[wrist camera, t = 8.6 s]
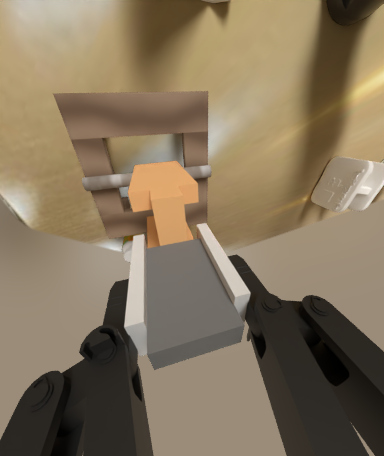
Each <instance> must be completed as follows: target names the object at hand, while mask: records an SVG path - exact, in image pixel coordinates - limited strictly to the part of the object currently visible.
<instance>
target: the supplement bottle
mask: <svg viewBox="0 0 384 456" xmlns="http://www.w3.org/2000/svg"><path fill="white" fill-rule="evenodd" d="M142 234H143V233H141V234H135V235H129V236H124V241H123V246H122V252H123V254H124V259H125V260H126V261H127V262H129V263H131V255H132V245H133V236H137V235H142Z"/></svg>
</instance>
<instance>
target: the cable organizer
mask: <svg viewBox="0 0 384 456" xmlns="http://www.w3.org/2000/svg"><path fill="white" fill-rule="evenodd" d="M383 185H384V163H378V162H371V161H367V160H361V159H354V158H347V157H341V156H337V157H334V158H333V159H332V160H331V161H330V162H329V163H328V165H327V166H326V168H325V170H324V172H323V175H322V177H321V179H320V181H319V182H318V184H317V185H316V187H315V189H314V191H313V194H312V196H311V201H312V202H313V203H315V204H317V205H319V206H322V207H324V208H326V209H328V210H331V211H333V212H343V211H344V210H346V209H347V208H348V209H351V210H353V211H363V210H365V209H366V208H367V207H368V206H369V204H370V203H371V202H372V200H373V199H374V198H375V196H376V195H377V194H378V192H379V191H380V189H381V188H382V187H383Z"/></svg>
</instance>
